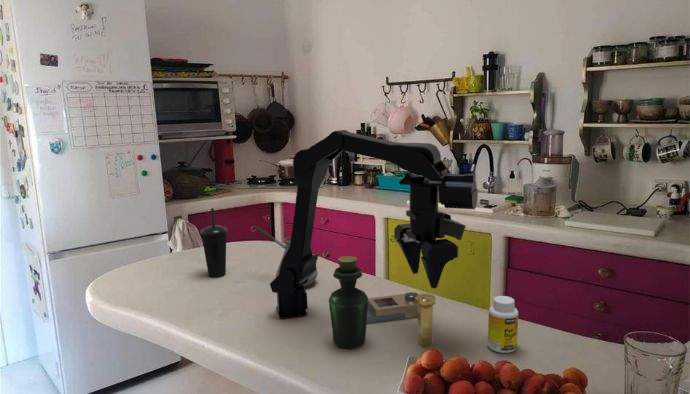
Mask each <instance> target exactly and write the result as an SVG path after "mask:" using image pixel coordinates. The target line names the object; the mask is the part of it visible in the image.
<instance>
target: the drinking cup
mask: <svg viewBox="0 0 690 394" xmlns="http://www.w3.org/2000/svg"><path fill="white" fill-rule="evenodd" d="M210 213H211V225H208V226H207V227H204V228H202V229H200V231H199V233H200V235H201V240H202V245H203V251H204V257H205V263H206V268H207V275H208V278H212V279H216V278H217V279H218V278H223V277H224V276H225V275H226V270H227V269H226V267H227V262H226V261H227V232H228V228H227V227H226V226H222V225H218V224H217V225H216V224H215V215H214V214H215V211H214V208H213V207H211V208H210Z"/></svg>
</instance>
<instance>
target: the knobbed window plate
mask: <svg viewBox="0 0 690 394" xmlns="http://www.w3.org/2000/svg"><path fill="white" fill-rule="evenodd" d="M417 295H419V293H417V292H409V291H408V292H406V293H401V294H400V293H399V294H392V295H383V296H377V297H368V309H367V323H366V325H367V324H368V325H369V324H376V323H382V322H389V321H390V322H391V321H397V320H404V319H410V318H418V305H417V304H416V303H415V297H416V296H417Z"/></svg>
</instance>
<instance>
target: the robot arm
mask: <svg viewBox="0 0 690 394" xmlns="http://www.w3.org/2000/svg"><path fill="white" fill-rule="evenodd" d="M343 151H344V152H347V153H352V154H356V155H361V156H364V157H368V158H369V157H370V158H372V159H376V160H377V159H378V160H381V161H384V162H389V163H391V164H393V165H395V166H396V167H399V168H400V169H402V170H403V171H406V174H405V175H404V177H402V178H401V179H400V180H399V181H398V184H399V185H401V186H409V187H408V189H409V191H408V192H409V193H408V194H409V195H408V196H409V197H408V198H409V200H408V201H409V209H407V210H405V216H407V217H408V218H409V223H404V224H403V223H402V224H398V225H397V226H395V228H394V230H393V232H394V234H393V237H394V239H396V242H397V244H398V246H399V248H400V250H401V251H402V254H403V255H404V258H405V259H406V262H407V264H408V267H409V268H410V271H411V273H412V274H413V275H417V274H418V273H419V268H420V261H421V262H422V265H423V267H424V268H423V269H424V271H425V274H426V278H427V280H428V283H429V286H430V288H431V289H437V288H438V286H439V283H440V280H441V277H442V273H443V271H444V268H445V266H446V265H447V263H449V262H450V261H454V260H455V259H456V258H457V259H458V257H459V246H458V245H457V244H456V243H455V242H453V241H451V240H449V239H447V238H445V237H446V236H448V237H451V238H455V239H456V240H457V241H458V240H459V241H461V240H462V239H463V236H464V233H465V229H466V225H465V224H463V223H460V222H458V221H456V220H453V219H452V215H451V214H448V213H446V212H443V211H439V203H440V205H443V206H444V208H445V209H457V210H458V209H459V210H476V208H477V204H478V198H479V189H478V188H477V186H478V185H477V182H476V181H477V180H476V175H475V173H465V174H454V173H453V174H452V173H451V171H450V170H449V168H448V167H447V166H446V164H445V163H444V162H443V160H442V159H441V158H442V156H441V155H442V154H441V152H440V150H439V148H438V147H437V146H436V145H435V144H433V143H428V142H426V143H425V142H424V143H423V142H395V141H392V140H387V139H382V138H377V137H372V136H368V135H365V134H364V135H363V134H361V133H355V132H350V131H348V130H346V129H339V130H334V131H331V132H330V133H329V135H327V136H326V137H324V138H323V139H322V140H319V141H318V142H316V143H314V144H313V145H310V147H308V148H304V149H301V150H299V151H297V152H296V153H294V155H293V159H292V171H293V172H292V174H293V178H294V181H295V184H296V187H297V188H296V195H295V196H296V197H295V203H294V205H295V206H294V210H293V219H292V226H291V228H292V229H291V235H290V237H291V241H290V247H289V249H288V251H287V252H286V254H285V256H284V258H283V260H282V263H281V266H280V270H279V275H278V276H277V277H276V276H275V278H274V279H273V280H272V281H271V282H270V283H269V286H270V290H271V292H272V293H274V294H276V299H277V300H276V302H277V303H276V307H275V308H276V311H277V315H278V318H279V319H287V318H293V317H294V318H295V317H303V316H307V315H308V312H307V311H308V309H309V308H308V293H307V291H306V289H305V288H304V286H303V285H304V284H305V283H307V282H308V279H309V277H311V276H312V274H313V272H314V271H316V270H317V271H318V268H317V262H318V259H319V254H313V250H312V248H311V247H312V246H311V245H312V238H313V231H314V225H315V219H316V218H315V217H316V212H317V211H316V209H317V203H318V196H319V189H320V187H321V185H322V183H323V182H324V180H325V178H326V176H327V173H328V169H329V167H330V163H331V162H332V161H333V160H335V159H336V158H337V157H339V155H340V154H341V153H342V152H343Z"/></svg>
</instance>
